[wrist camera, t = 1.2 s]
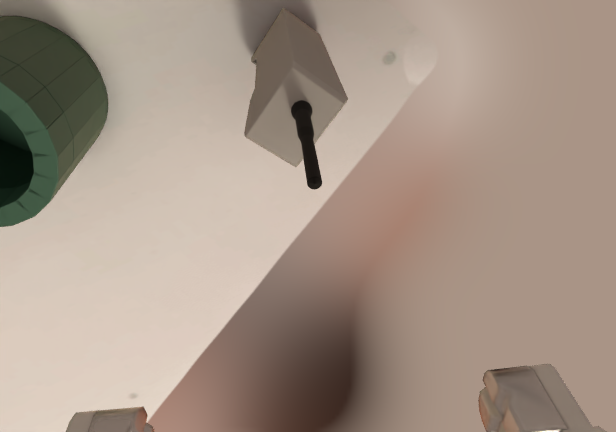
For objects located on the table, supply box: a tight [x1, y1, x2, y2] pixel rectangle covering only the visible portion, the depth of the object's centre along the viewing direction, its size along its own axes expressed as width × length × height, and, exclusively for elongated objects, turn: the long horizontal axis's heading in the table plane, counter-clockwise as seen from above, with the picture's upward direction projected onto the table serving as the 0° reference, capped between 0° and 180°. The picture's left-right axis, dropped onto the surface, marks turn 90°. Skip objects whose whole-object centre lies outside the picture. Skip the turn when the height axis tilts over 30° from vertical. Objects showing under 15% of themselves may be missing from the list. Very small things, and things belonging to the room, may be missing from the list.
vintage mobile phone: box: [245, 8, 348, 189], centre depth 29 cm, size 4×5×25 cm
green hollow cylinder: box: [0, 16, 108, 227], centre depth 35 cm, size 12×12×12 cm
